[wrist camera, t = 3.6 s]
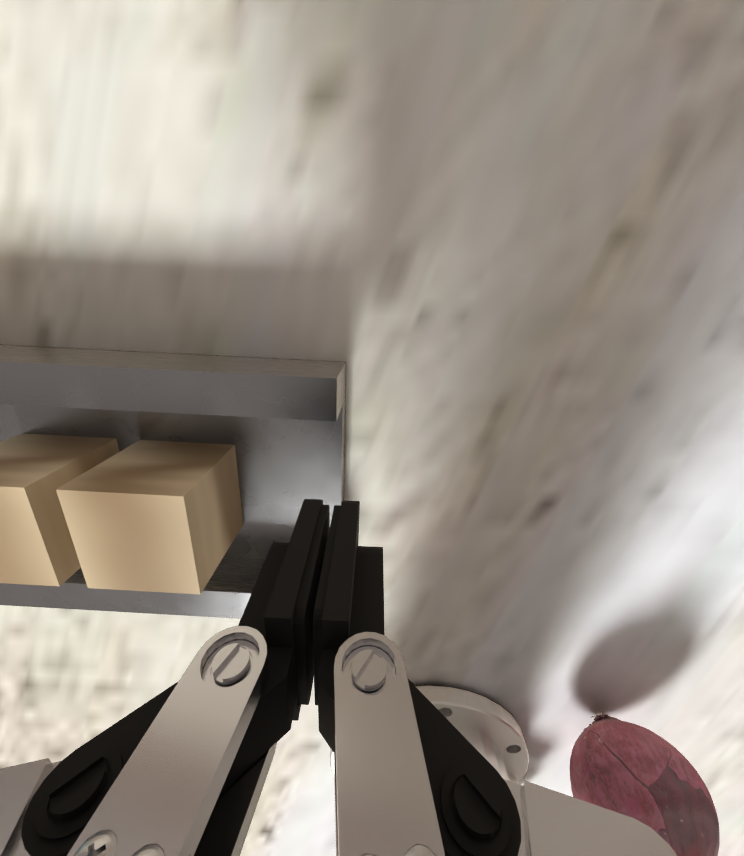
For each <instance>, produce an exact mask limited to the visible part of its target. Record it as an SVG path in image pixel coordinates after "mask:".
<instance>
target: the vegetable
mask: <svg viewBox="0 0 744 856" xmlns="http://www.w3.org/2000/svg"><path fill="white" fill-rule="evenodd" d="M596 716H597V717H596ZM596 716H592V717H596V718H595V719H594V720H595V721H593V723H592V724H589V727H587V728H585V729H584V731H583V732H582V733H581V735H580V736H579V737H578V739H577V740H576V742H575V745H574V747H573V749H572V754H571V759H570V780H571V788H572V793H573V797H574V798H577V799H579V800H582V801H585V802H588V803H591V804H594V805H597V806H600V807H603V808H606V809H608V810H611V811H614V812H617V813H620V814H623V815H626V816H629V817H632V818H634V819H636V820H638V821H640V822H642V823H643V824H645V825H647V826H649V827H651V828H652V829H653V830H654V831H655V832H656V833H657V834H658V835H659V836H661V837H662V838H663V839H664V840H665V841H666V842H667V843H668V844H669V845H670V847H671V848H672V849H673V851H674V852H675V853H676V855H677V856H718V850H719V823H718V817H717V813H716V810H715V806H714V804H713V801H712V798H711V795H710V793H709V791H708V789H707V787H706V785H705V783H704V782H703V780H702V779H701V777H700V776H699V774H698V773H697V771H696V770H695V769H694V767H693V766H692V765H691V764H690V763H689V761H688V760H687V759H686V758H685V757H684V756H683V755H682V754H681V753H680V752H679V751H678V750H677V749H676V748H675V747H674V746H672V745H671V744H670V743H668V742H667V741H666V740H664V739H663V738H661V737H660V736H658V735H657V734H655V733H654V732H652V731H650V730H648V729H646V728H644V727H641V726H639V725H636V724H632V723H629V722H625V721H621V720H618V719H617V718H613V717H610V716H608V715H606V714H604V713H603V711H602V715H596ZM590 718H591V717H590Z"/></svg>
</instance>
